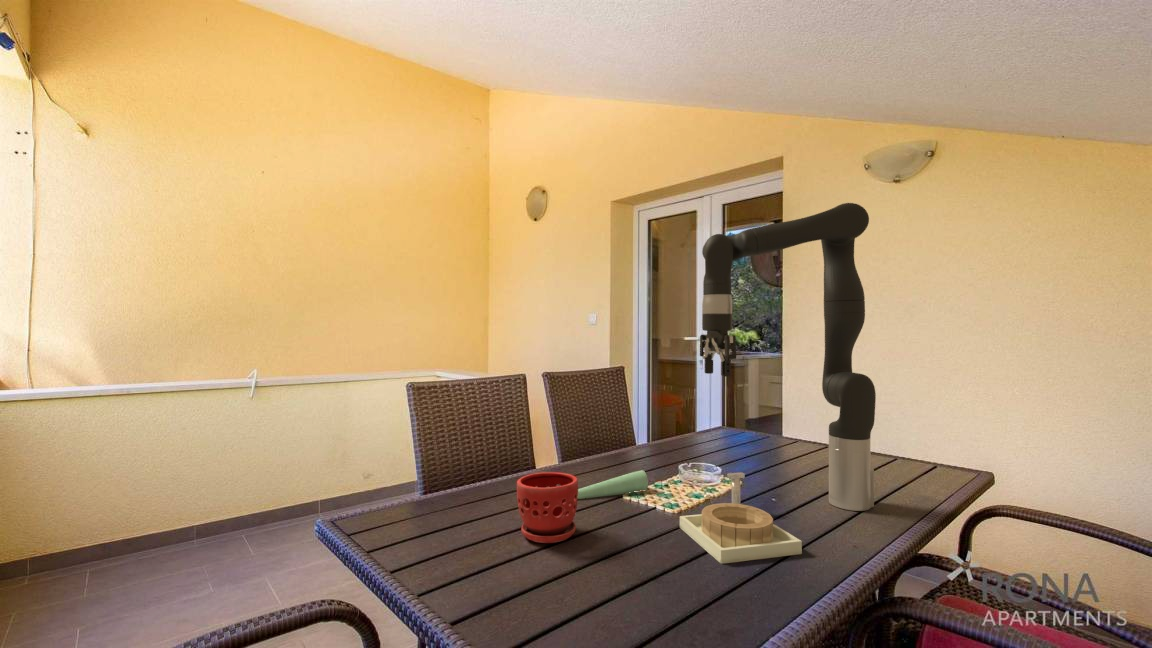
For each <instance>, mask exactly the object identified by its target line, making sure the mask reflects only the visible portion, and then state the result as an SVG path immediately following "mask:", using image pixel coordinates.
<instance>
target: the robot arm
mask: <svg viewBox="0 0 1152 648" xmlns="http://www.w3.org/2000/svg"><path fill="white" fill-rule="evenodd" d="M869 224H870V217H869V213H868V212H867V210H866V209H865V208H864V207H863V206H862V205H860V204H859V203H854V202H845V203H841V204H839V205H836V206H835V207H833V208H830V209H827V210H825V211H822V212H819V213H816V214H812V215H809V216H805V217H801V218H798V219H792V220H787V221H782V222H778V223H777V222H776V223H773V224H766V225H761V226H756V227H753V228H748V229H745V230H743V231H740V232H739V233H735V234H729V235H725V234H723V233H717V234H712V236H710V237H709V238H708V239H706V241H705V243H704V245H703V247H702V251H701V252H702V256H703V258H704V262H705V263H704V272H705V273H704V275H703V282H702V284H703V285H702V286H703V288H702V289H703V291H702V292H703V294H702V295H703V296H702V303H701V305H702V307H701V308H702V309H701V310H702V311H701V316H702V317H701V318H702V319H701V320H702V321H701V322H702V323H701V325H702V327H701V328H702V329H701V330H702V331H705V332H706V334H700V335H699V357H702V359H703V360H704V374H706V375H707V374H714V356H715V355H716V354H717V355H719V357H720V360H721V362H720V375H721V376H722V377H731V372H732V371H731V366H732V365H731V362H732V361H733V360H736V359H737V340H736V339H737V337H736V335H735V334H733V335H732V334H728V332H731V331H732V330H733V301H732V299H733V298H732V278H731V277H732V275H731V274H732V267H733V261H736V260H739V259H742V258H746V257H747V258H748V257H753V256H754V257H755V256H760V255H764V254H768V253H773V252H777V251H782V250H785V249H789V248H792V247H794V246H798V245H802V244H806V243H811V242H815V241H820V242H821V249H822V257H823V319H824V320H823V322H824V358H823V359H824V361H823V370H822V383H821V384H822V385H821V387H822V394H823V397H824V398H825V400H826V401H827V403H829V404H830V405H832V406H834V407H838V408H839V416H838V419H837V420H835V421H831V422H830V423H829V424H828V503H829V504H830V505H832V506H834V507H836V508H839V509H843V510H846V511H856V512H857V511H858V512H864V511H865V512H866V511H868V510H870V509H872V508H875V506H874V505H875V470H874V468H873V467H871V462H872V461H871V459H872V458H871V451H872V450H871V433H872V430H873V428H874V426H875V425H874V424H875V415H876V400H877V399H876V396H877V395H876V387H875V385H874V382H873V381H872V379H871V378H870V377H869V376H867V375H865V374H863V373H858V372H853V365H852V364H853V361H852V360H853V359H852V357H853V351H854V350H853V349H854V347H855V344H856V341H857V340H858V337H859V335H860V333H861V332H862V330H863V326H864V324H865V319H866V305H865V303H866V301H865V299H866V298H865V291H864V287H863V284H862V281H861V278H860V276H859V273H858V270H857V267H856V264H855V242H856V241H855V240H856V239H857V238H858V237H860V236H861V235H862V234H863V233H864V232H865V231H866V230H867V228H868V226H869Z"/></svg>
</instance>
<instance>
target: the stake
mask: <svg viewBox="0 0 1152 648" xmlns="http://www.w3.org/2000/svg"><path fill="white" fill-rule="evenodd" d="M745 474H746V473H744V472H729V473H727V475H726V476H727V477H726V479H727V478H728V479H729V480H731V503H733V504H741V479H745Z"/></svg>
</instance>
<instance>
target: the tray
mask: <svg viewBox="0 0 1152 648" xmlns="http://www.w3.org/2000/svg"><path fill="white" fill-rule="evenodd" d="M679 529H681V530H682V531H683V532H684V533H685V534H687V536H688V537H690V538H691V539H692V540H693V541H694V542H696V544H698V545H699V546H700V547H701V548H702V549H704V550H705V551H706V552H707V553H708V555H710V556H712V557H713V558H714V559H715V560H716V561H717V562H719V564H729V563H731V564H732V563H739V562H745V561H754V560H764V559H771V558H780V557H787V556H789V557H790V556H795V555H802V554H803V551H802V550H803V549H802V548H803V545H802V544H803V543H802V542H803V541H802V540H801V539H799V538H797V537H796V536H794V535H793V534H791V533H789V532H788V531H786V530H784V529H783V528H781V527H780V526H778V525H776V524H774V523H773V542H772V543H763V544H755V545H746V546H737V547H728V548H722V547H721V546H719V545H718V544H717V543H716V542H714V541H713V540H712V539H711V538H710V537H708V536H707V535H706V534H705V533H703V532H702V513H700V514H692V515H690V514H689V515H681V516H679Z"/></svg>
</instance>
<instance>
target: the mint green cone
mask: <svg viewBox="0 0 1152 648" xmlns="http://www.w3.org/2000/svg"><path fill="white" fill-rule="evenodd" d="M648 485H649V481H648V475H647V473H646V472H645V471H644V470H643V469H641V470H638V471H637V470H635V471H632V472H629V473H626V474H623V475H620V476H615V477H612V478H609V479H607V480H603V481H601V482H597V483H593V484H590V485H588V486H584V487H581V488H578V496H577V500H583V499H585V498H586V499H592V498H600V497H608V496H609V497H610V496H617V495H625V494H624V493H627V494H630V493H629V492H634V491H640V490H646V491H647V489H648Z"/></svg>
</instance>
